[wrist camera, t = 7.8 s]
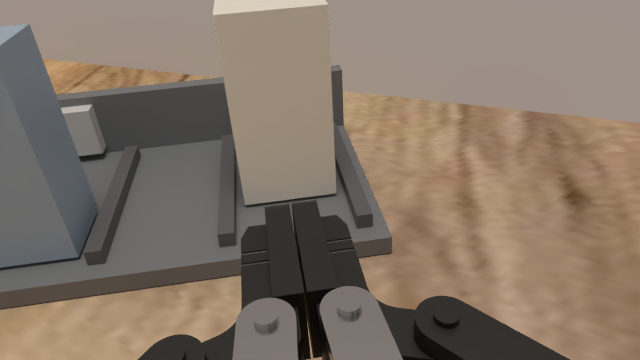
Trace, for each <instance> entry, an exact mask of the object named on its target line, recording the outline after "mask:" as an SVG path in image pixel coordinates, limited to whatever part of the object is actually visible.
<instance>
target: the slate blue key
mask: <svg viewBox="0 0 640 360" xmlns="http://www.w3.org/2000/svg"><path fill="white" fill-rule="evenodd" d="M97 211H98V207H97V204H96V201H95V199H94V196H93V193H92V191H91V188H90V185H89V183H88V180H87V177H86V175H85V172H84V169H83V167H82V164H81V161H80V159H79V156H78V153H77V151H76V148H75V145H74V142H73V140H72V137H71V134H70V132H69V129H68V126H67V124H66V121H65V118H64V116H63V113H62V110H61V108H60V105H59V102H58V100H57V97H56V94H55V92H54V89H53V86H52V84H51V81H50V78H49V75H48V73H47V70H46V67H45V65H44V62H43V59H42V57H41V54H40V51H39V49H38V46H37V43H36V41H35V38H34V35H33V33H32V30H31V27H30V25H29V24H24V25H13V26H2V27H0V268H2V267H10V266H17V265H24V264H32V263H39V262H46V261H54V260H61V259H69V258H76V257H79V255H80V253H81V250H82V248H83V245H84V243H85V240H86V238H87V235H88V233H89V230H90V228H91V226H92V223H93V221H94V218H95V216H96V213H97Z"/></svg>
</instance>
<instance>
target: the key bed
mask: <svg viewBox="0 0 640 360" xmlns="http://www.w3.org/2000/svg"><path fill="white" fill-rule="evenodd" d="M331 81H332V103H333V126H334V148H335V170H336V194H328V195H320V196H313V197H305V198H297V199H290V200H282V201H274V202H267V203H259V204H251V205H245V202H244V196H243V191H242V185H241V179H240V173H239V167H238V161H237V155H236V150H235V144H234V138H233V132H232V126H231V120H230V114H229V108H228V103H227V97H226V91H225V85H224V79H223V77H222V78H212V79H203V80H193V81H184V82H174V83H165V84H155V85H146V86H136V87H127V88H117V89H108V90H98V91H89V92H79V93H70V94H60V95H56V97H57V100H58V102H59V105H60V108H61V110H62V113H63V116H64V118H65V121H66V124H67V126H68V129H69V132H70V134H71V137H72V140H73V142H74V145H75V148H76V151H77V153H78V156H79V159H80V161H81V164H82V167H83V169H84V172H85V175H86V177H87V180H88V183H89V185H90V188H91V191H92V193H93V196H94V199H95V201H96V204H97V207H98V211H97V213H96V216H95V218H94V221H93V223H92V226H91V228H90V230H89V233H88V235H87V238H86V240H85V243H84V245H83V248H82V250H81V253H80V255H79V257H76V258H69V259H61V260H54V261H46V262H39V263H32V264H24V265H17V266H10V267H2V268H0V309H3V308H10V307H17V306H24V305H31V304H38V303H45V302H52V301H59V300H66V299H73V298H80V297H87V296H94V295H101V294H108V293H115V292H122V291H129V290H136V289H143V288H150V287H157V286H164V285H171V284H178V283H185V282H192V281H199V280H206V279H213V278H220V277H227V276H234V275H241V238H242V236H243V235H244V233H245V231H246V229H247V228H248V227H249V226H257V225H264V224H266V220H265V209H264V207H266V206H274V205H282V204H289V205H290V211H291V217H292V223H293V216H292V206H291V203H296V202H304V201H312V200H316V201H317V204H318V208H319V212H320V216H321V217H323V216H331V215H337V216H338V217H340V218H341V219H342V220H343V221H344V222H345V223H346V224H347V225H348V229H349V232H350V235H351V239H352V241H353V244H354V247H355V250H356V254H357V257H358V258H359V257H366V256H373V255H380V254H387V253H391V251H392V236H391V234H390V232H389V229H388V227H387V225H386V222H385V220H384V218H383V215H382V213H381V211H380V208H379V206H378V204H377V201H376V199H375V197H374V195H373V192H372V190H371V188H370V185H369V183H368V181H367V178H366V176H365V174H364V171H363V169H362V167H361V164H360V162H359V160H358V157H357V155H356V153H355V150H354V148H353V146H352V144H351V141H350V139H349V137H348V134H347V132H346V130H345V127H344V122H343V91H342V70H341V68H340V66H339V65H336V66H331ZM293 229H294V225H293Z"/></svg>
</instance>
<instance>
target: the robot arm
mask: <svg viewBox="0 0 640 360" xmlns="http://www.w3.org/2000/svg"><path fill="white" fill-rule="evenodd" d="M291 206H292V216H293V223H292V217H291V211H290V205H289V204H282V205H274V206H266V207H264V209H265V220H266V224H264V225H257V226H249V227H248V228H247V229H246V231H245V233H244V235H243V236H242V238H241V286H242V309H241V312H240V313H239V315H238V317H237V320H236V322H235V323H234V324H233V326H232V327H230V328H229V329H228V330H227V331H225V332H224V333H222V334H220V335H218V336H216V337H214V338H212V339H209V340H207V341H205V342H203V343H201V342H200V341H199V340H198V339H196V338H195V337H192V336H190V335H173V336H169V337H166V338H164V339H162V340H160V341H158V342H157V343H155V344H154V345H153V346H151V347H150V348H149V349H148V350H147V351H146V352H145V353H144V354H143V355H142V356H141V357H140V358H139V359H138V360H306V359H311V356H310V346H309V336H308V328H309V334H310V340H311V347H312V353H313V358H317V357H322V360H570V359H568V358H566V357H564V356H562V355H560V354H559V353H557V352H555V351H553V350H551V349H549V348H547V347H546V346H544V345H542V344H540V343H538V342H536V341H535V340H533V339H531V338H529V337H527V336H525V335H523V334H522V333H520V332H518V331H516V330H514V329H512V328H511V327H509V326H507V325H505V324H503V323H501V322H499V321H498V320H496V319H494V318H492V317H490V316H488V315H487V314H485V313H483V312H481V311H479V310H477V309H475V308H474V307H472V306H470V305H468V304H466V303H464V302H463V301H460V300H458V299H456V298H453V297H448V296H435V297H431V298H428V299H426V300H424V301H422V302H421V303H420V304H419V305H418V307H417V309H416V310H412V309H403V308H396V307H392V306H388V305H386V304H383V303H382V302H380V301H378V300H377V299H376V298H375V297H374V296H373V295H372V294H371V293H370V292H369V290H368V287H367V285H366V282H365V278H364V275H363V272H362V269H361V266H360V263H359V260H358V257H357V254H356V250H355V247H354V244H353V241H352V239H351V235H350V232H349V229H348V225H347V224H346V223H345V222H344V221H343V220H342V219H341V218H340V217H338V216H337V215H331V216H323V217H321V216H320V212H319V208H318V204H317V201H316V200H312V201H304V202H296V203H291ZM293 225H294V229H293ZM307 322H308V326H307Z"/></svg>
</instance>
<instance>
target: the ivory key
mask: <svg viewBox="0 0 640 360" xmlns="http://www.w3.org/2000/svg"><path fill="white" fill-rule="evenodd" d="M328 15H329V14H328V4H327V2H326V1H325V0H215V3H214V9H213V21H214V26H215V32H216V38H217V44H218V49H219V56H220V62H221V67H222V73H223V79H224V85H225V91H226V97H227V103H228V108H229V114H230V120H231V126H232V132H233V138H234V144H235V150H236V155H237V161H238V167H239V173H240V179H241V185H242V191H243V196H244V202H245V205H251V204H259V203H267V202H274V201H282V200H290V199H297V198H305V197H313V196H320V195H328V194H336V170H335V148H334V126H333V103H332V81H331V60H330V39H329V38H330V36H329V16H328Z"/></svg>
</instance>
